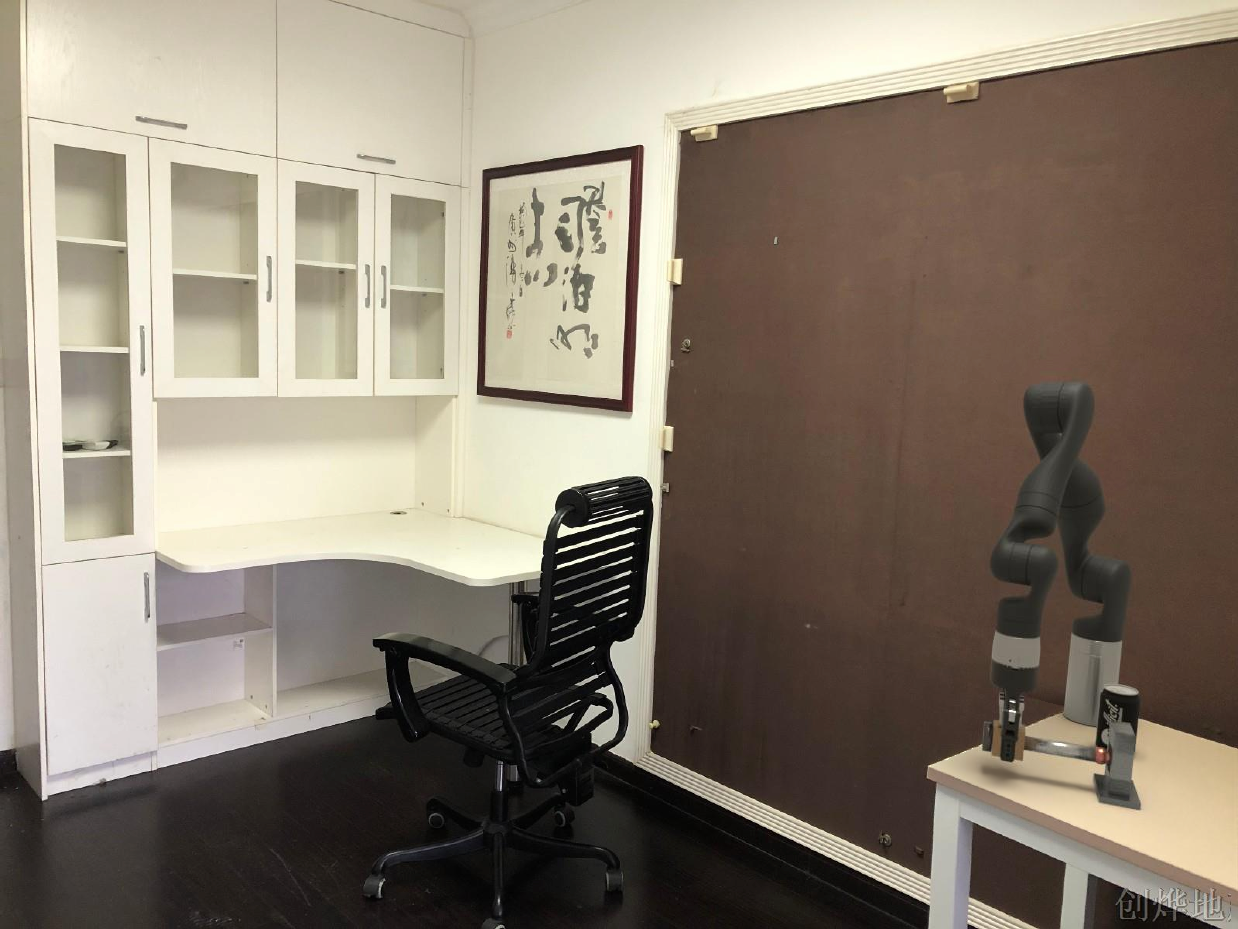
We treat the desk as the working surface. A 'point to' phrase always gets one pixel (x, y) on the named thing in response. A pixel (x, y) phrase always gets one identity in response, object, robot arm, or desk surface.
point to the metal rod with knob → (1040, 745)
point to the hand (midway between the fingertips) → (1006, 755)
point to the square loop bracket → (1118, 769)
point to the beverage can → (1116, 710)
